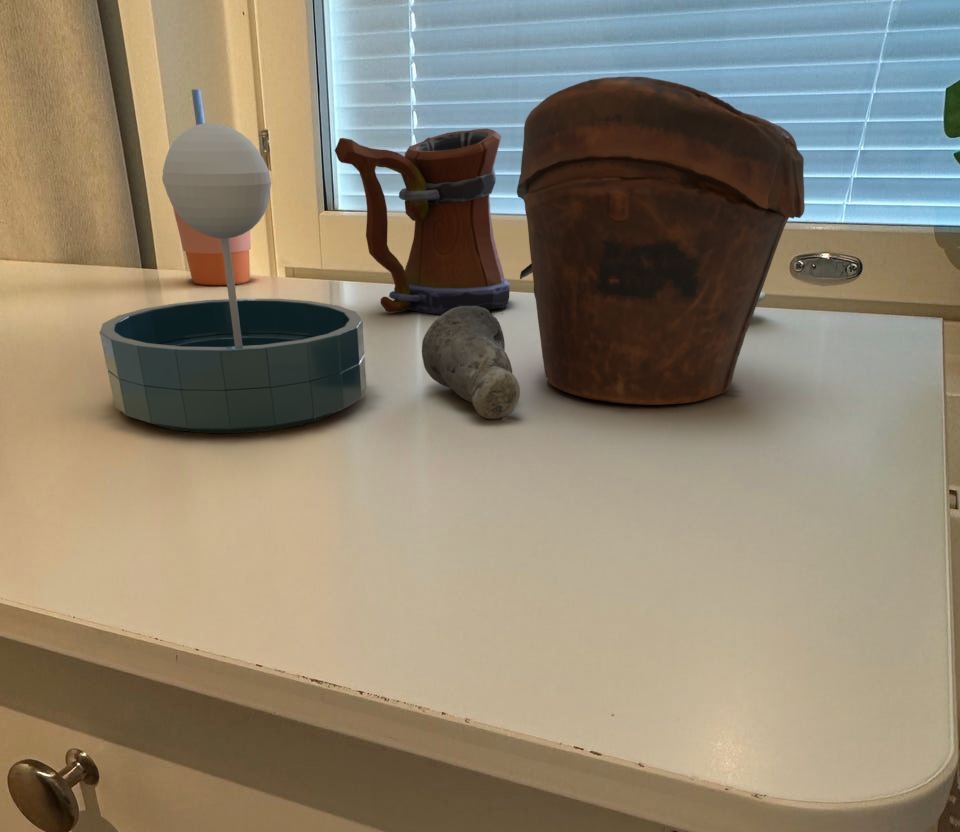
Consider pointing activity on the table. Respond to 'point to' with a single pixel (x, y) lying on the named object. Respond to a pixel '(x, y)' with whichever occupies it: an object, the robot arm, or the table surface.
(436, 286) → the mug
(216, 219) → the lollipop
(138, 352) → the bowl
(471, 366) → the stone
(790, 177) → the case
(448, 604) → the table surface
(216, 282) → the cup with straw
